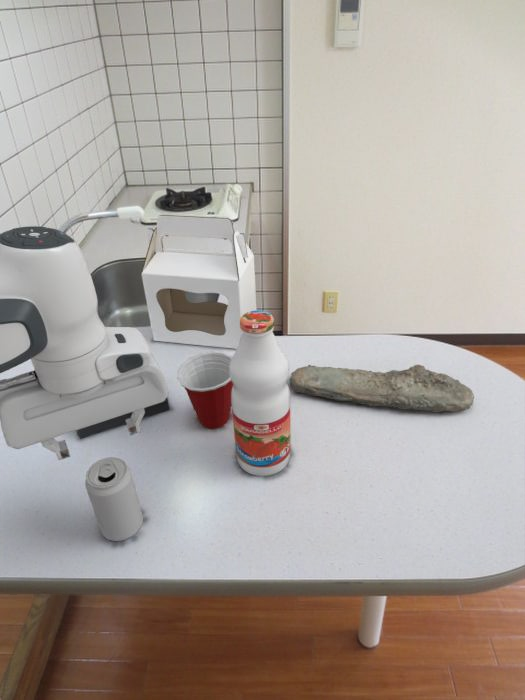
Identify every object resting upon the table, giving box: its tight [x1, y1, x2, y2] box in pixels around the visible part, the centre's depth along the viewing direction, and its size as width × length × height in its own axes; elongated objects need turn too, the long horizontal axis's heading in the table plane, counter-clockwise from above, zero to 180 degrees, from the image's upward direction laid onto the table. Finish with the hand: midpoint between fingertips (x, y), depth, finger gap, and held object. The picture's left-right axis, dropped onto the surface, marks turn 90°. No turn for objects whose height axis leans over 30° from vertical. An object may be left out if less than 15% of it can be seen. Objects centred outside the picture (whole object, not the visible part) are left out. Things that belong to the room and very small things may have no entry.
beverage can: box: [84, 456, 144, 542], centre depth 77 cm, size 6×6×12 cm
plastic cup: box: [176, 351, 233, 430], centre depth 96 cm, size 11×11×12 cm
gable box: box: [140, 214, 258, 350], centre depth 117 cm, size 22×13×28 cm, turn 77°
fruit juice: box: [229, 309, 292, 477], centre depth 83 cm, size 9×9×28 cm
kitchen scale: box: [77, 397, 170, 439], centre depth 103 cm, size 17×13×3 cm
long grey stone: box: [288, 364, 475, 413], centre depth 102 cm, size 35×5×10 cm
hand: (100, 443), depth 70 cm, fingers open, 8 cm apart
